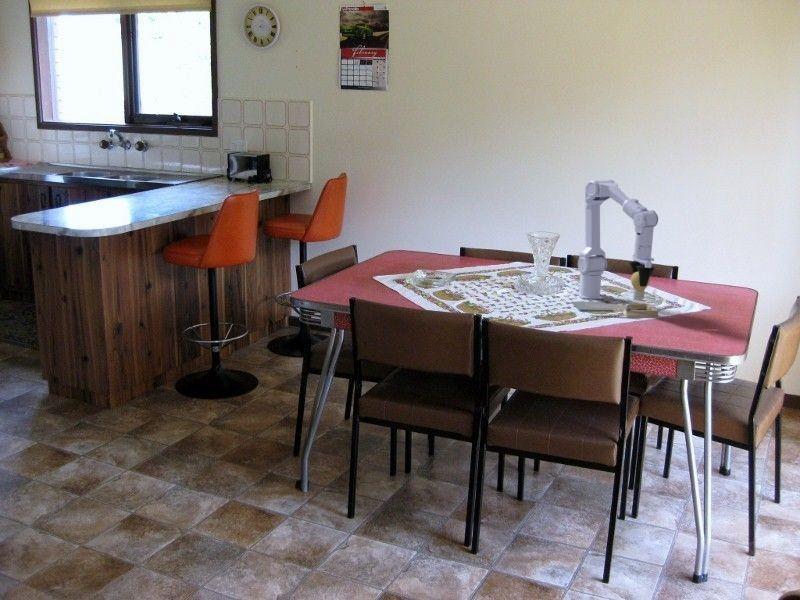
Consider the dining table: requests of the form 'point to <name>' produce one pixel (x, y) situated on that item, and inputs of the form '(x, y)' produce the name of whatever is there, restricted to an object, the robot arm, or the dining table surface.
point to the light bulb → (638, 287)
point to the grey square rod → (609, 306)
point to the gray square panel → (582, 307)
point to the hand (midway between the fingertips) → (639, 284)
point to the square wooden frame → (640, 311)
